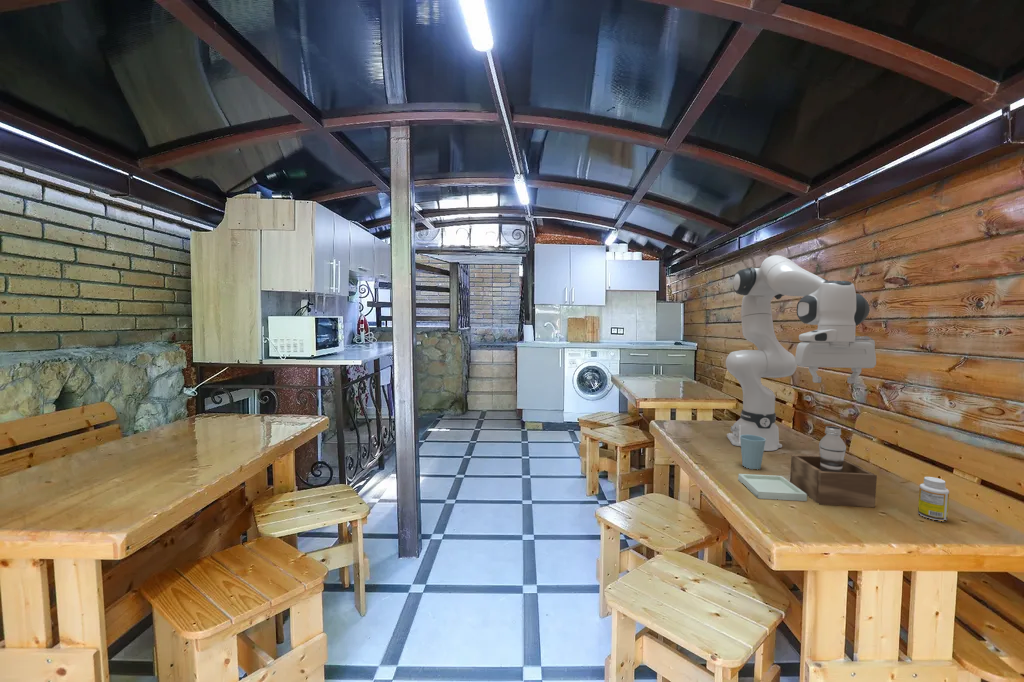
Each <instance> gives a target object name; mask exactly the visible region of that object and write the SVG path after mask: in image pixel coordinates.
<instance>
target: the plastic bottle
mask: <svg viewBox="0 0 1024 682" xmlns="http://www.w3.org/2000/svg"><path fill="white" fill-rule="evenodd" d="M824 434H825V435H824V436H823V437H822V438H821V439H820V441H819V444H818V447H819V456H820V461H821V462H820V470H821V471H824V472H842V467H843V466H842V465H843V460H844V459H845V457H846V451H847V446H846V442H844V440H843V439H842V438H841V435H842V429H841V428H840V427H838V426H835V425H827V426H825V430H824Z"/></svg>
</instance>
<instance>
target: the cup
mask: <svg viewBox="0 0 1024 682" xmlns="http://www.w3.org/2000/svg"><path fill="white" fill-rule="evenodd" d="M740 440H741V446H740V450H741V451H740V452H741V463H742V467H743V466H744V467H743V468H745V467H746V469H748V468H749V470H753V469H757V470H758V469H759V470H761V468H762V463H763V457H764V452H765V451H764V446H765V441H766V439H765V438H763V437H760V436H755V435H741V436H740Z"/></svg>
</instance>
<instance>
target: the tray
mask: <svg viewBox="0 0 1024 682" xmlns="http://www.w3.org/2000/svg"><path fill="white" fill-rule="evenodd" d="M737 480H738V481H739V482H740V483H741V484H742V483H743V484H744V485H745V486H746V487H747V490H748V491H750V492H751V493H752V494H753V495H754V496H755V497H756V498H757V499H760V500H761V499H762V500H763V499H764V500H777V499H778V500H779V501H780V500H781V501H798V502H799V501H800V502H807V500H808V496H807V494H806V493H805V492H803V491H802V490H800V489H799V488H798V487H796V486H795V485H794V484H792V483H791V482H790V480H788V479H787V478H785V477H784V476H783V475H775V474H774V475H772V474H769V475H768V474H756V473H755V474H754V473H752V474H751V473H750V474H749V473H738V476H737ZM743 484H742V485H743ZM744 485H743V486H744ZM745 486H744V487H745ZM746 487H745V488H746Z"/></svg>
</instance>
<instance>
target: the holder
mask: <svg viewBox="0 0 1024 682" xmlns="http://www.w3.org/2000/svg"><path fill="white" fill-rule="evenodd" d="M790 457H791V459H790V474H789V482H791V483H792V484H794V485H795V486H796V487H798V488H799V489H800V490H802V491H803V492H805V493H806V494H807V497H808V496H809V498H810V499H811V498H812V499H813V500H812V499H811V500H812V501H814V502H815V503H817V504H818V503H819V505H823V504H824V506H825V504H826V506H828V505H829V506H841V505H842V507H844V506H845V507H859V508H860V507H861V508H862V507H863V508H875V507H876V497H877V496H876V494H877V493H876V492H877V479H878V475H877V474H875V473H873V472H872V471H869V470H867V469H866V468H864V467H861V466H859V465H857V464H855V463H853V462H851V461H850V460H847V459H845V458H844V460H843V465H842V466H843V467H842V472H824V471H821V470H820V462H821V461H820V455H802V454H791V456H790Z"/></svg>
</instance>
